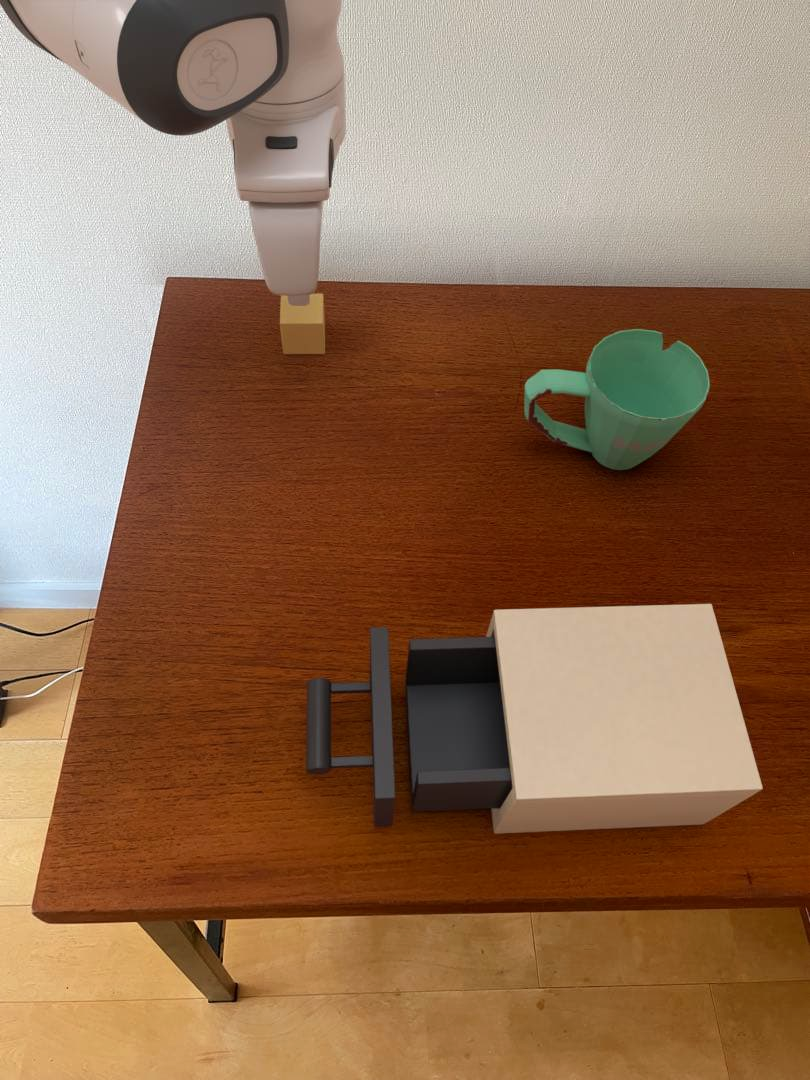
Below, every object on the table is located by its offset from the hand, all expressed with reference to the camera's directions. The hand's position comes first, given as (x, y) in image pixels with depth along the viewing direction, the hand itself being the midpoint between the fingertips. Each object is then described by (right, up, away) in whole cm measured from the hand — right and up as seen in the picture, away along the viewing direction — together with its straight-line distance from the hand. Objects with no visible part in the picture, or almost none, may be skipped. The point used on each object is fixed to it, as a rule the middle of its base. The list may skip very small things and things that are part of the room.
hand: (300, 262), depth 70 cm
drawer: (+12, -39, -13) cm, 43 cm away
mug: (+26, -16, +2) cm, 31 cm away
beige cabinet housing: (+22, -39, -12) cm, 47 cm away
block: (-1, -5, +8) cm, 9 cm away
